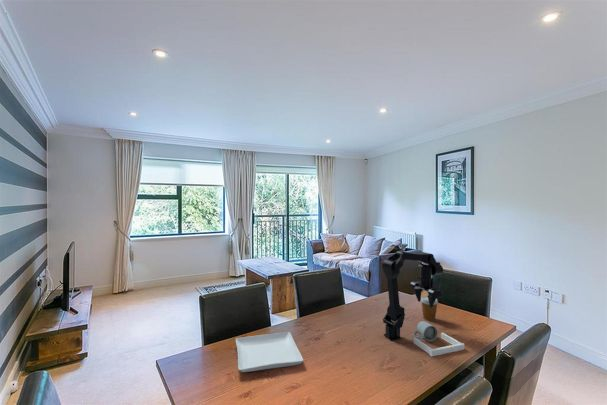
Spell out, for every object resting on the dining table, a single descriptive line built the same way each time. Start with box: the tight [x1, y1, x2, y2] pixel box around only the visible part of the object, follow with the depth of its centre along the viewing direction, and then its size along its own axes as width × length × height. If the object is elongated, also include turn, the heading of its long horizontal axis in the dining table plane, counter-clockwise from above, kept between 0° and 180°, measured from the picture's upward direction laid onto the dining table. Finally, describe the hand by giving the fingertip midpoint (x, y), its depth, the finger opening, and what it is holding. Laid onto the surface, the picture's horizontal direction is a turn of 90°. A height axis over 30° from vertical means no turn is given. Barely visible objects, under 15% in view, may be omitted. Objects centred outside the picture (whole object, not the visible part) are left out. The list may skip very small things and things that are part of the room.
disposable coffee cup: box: [420, 295, 439, 322], centre depth 173 cm, size 10×10×12 cm
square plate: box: [235, 331, 304, 373], centre depth 133 cm, size 27×27×4 cm
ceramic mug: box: [412, 320, 439, 342], centre depth 150 cm, size 11×8×8 cm
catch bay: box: [413, 332, 465, 357], centre depth 141 cm, size 19×13×2 cm, turn 109°
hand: (425, 304), depth 160 cm, fingers open, 9 cm apart
